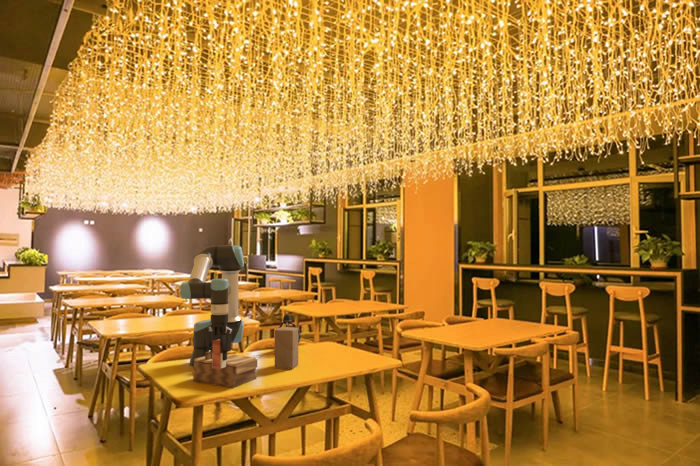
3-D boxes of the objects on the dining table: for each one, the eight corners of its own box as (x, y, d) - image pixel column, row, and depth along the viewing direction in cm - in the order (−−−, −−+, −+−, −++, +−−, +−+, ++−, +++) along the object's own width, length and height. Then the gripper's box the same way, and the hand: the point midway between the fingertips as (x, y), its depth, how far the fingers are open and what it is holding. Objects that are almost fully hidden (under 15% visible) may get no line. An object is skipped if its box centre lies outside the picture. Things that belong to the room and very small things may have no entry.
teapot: (284, 355, 267) (284, 315, 268) (266, 348, 287) (267, 311, 288) (302, 352, 274) (302, 314, 275) (284, 345, 294) (284, 309, 295)
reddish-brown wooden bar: (218, 366, 203) (218, 339, 203) (225, 367, 201) (225, 339, 202) (212, 368, 199) (212, 340, 200) (219, 369, 198) (219, 341, 198)
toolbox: (193, 381, 213) (193, 362, 214) (217, 373, 228) (217, 355, 228) (233, 387, 203) (233, 367, 203) (255, 378, 217) (256, 359, 217)
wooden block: (292, 369, 234) (292, 330, 235) (274, 368, 236) (274, 329, 237) (298, 364, 244) (298, 327, 245) (280, 364, 246) (281, 326, 247)
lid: (194, 368, 214) (194, 352, 214) (216, 361, 227) (216, 346, 228) (236, 374, 203) (236, 357, 203) (257, 367, 216) (257, 350, 216)
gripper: (198, 313, 202) (198, 366, 201) (228, 315, 194) (228, 371, 193) (210, 311, 208) (210, 363, 207) (240, 313, 201) (239, 367, 200)
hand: (218, 366), depth 200 cm, fingers closed on reddish-brown wooden bar, 4 cm apart
